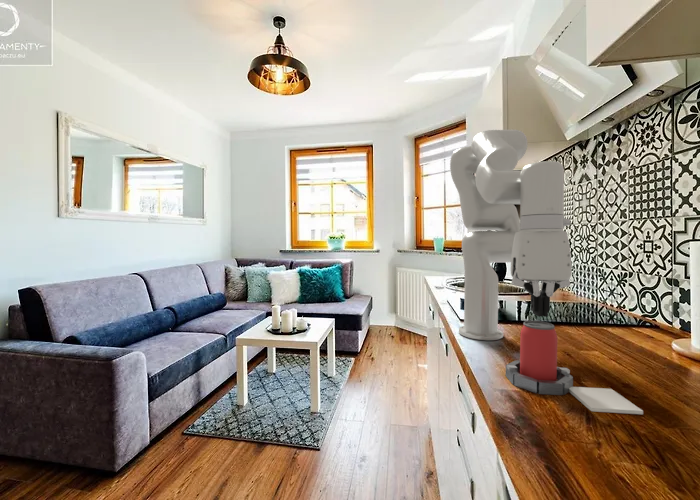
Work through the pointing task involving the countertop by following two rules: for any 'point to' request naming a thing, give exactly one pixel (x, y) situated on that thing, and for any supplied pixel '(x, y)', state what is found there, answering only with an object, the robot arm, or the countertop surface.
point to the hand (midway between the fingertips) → (540, 314)
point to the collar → (540, 385)
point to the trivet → (604, 400)
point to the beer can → (538, 350)
